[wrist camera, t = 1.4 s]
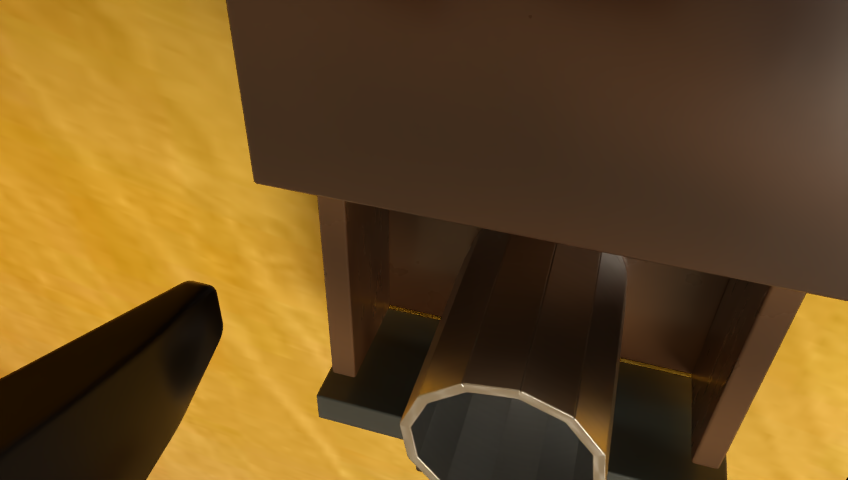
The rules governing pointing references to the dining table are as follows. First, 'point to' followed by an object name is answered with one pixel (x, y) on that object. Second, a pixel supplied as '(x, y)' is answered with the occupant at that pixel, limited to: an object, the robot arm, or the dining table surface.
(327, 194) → the cabinet
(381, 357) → the drawer
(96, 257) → the dining table surface
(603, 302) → the cup
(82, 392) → the robot arm
